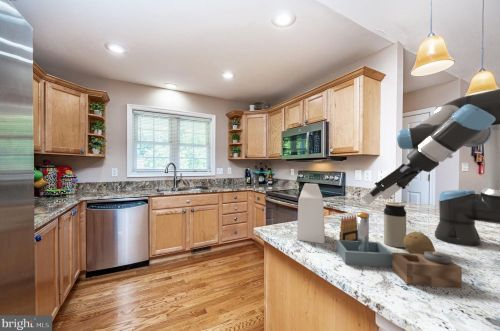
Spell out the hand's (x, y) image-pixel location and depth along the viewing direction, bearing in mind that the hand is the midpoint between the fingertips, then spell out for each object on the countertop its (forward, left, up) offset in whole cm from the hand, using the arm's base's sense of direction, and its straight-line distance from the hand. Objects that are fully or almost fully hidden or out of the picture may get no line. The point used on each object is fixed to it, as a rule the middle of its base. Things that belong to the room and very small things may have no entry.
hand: (375, 198), depth 74 cm
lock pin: (+3, -3, -22) cm, 22 cm away
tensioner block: (-10, +9, -23) cm, 27 cm away
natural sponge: (-17, -6, -23) cm, 29 cm away
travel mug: (-16, -20, -23) cm, 34 cm away
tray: (+3, -3, -23) cm, 23 cm away
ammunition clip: (+3, -20, -23) cm, 30 cm away
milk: (+19, -24, -23) cm, 38 cm away
